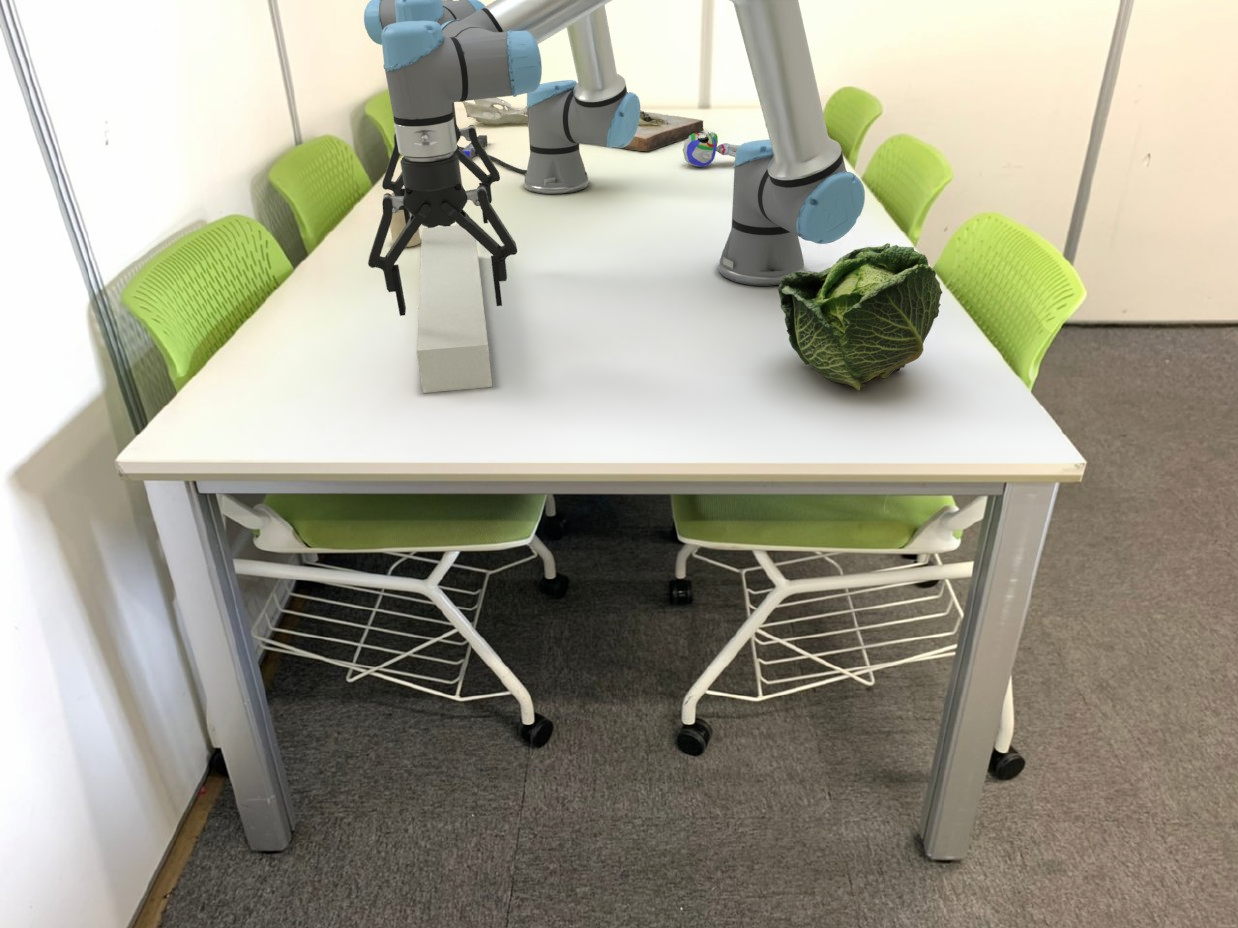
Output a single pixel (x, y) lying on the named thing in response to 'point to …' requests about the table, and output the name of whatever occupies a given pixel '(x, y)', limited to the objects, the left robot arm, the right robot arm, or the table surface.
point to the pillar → (470, 149)
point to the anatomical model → (495, 112)
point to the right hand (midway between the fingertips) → (451, 307)
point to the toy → (705, 149)
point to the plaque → (662, 130)
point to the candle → (401, 227)
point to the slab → (451, 313)
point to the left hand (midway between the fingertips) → (447, 224)
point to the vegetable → (862, 313)
